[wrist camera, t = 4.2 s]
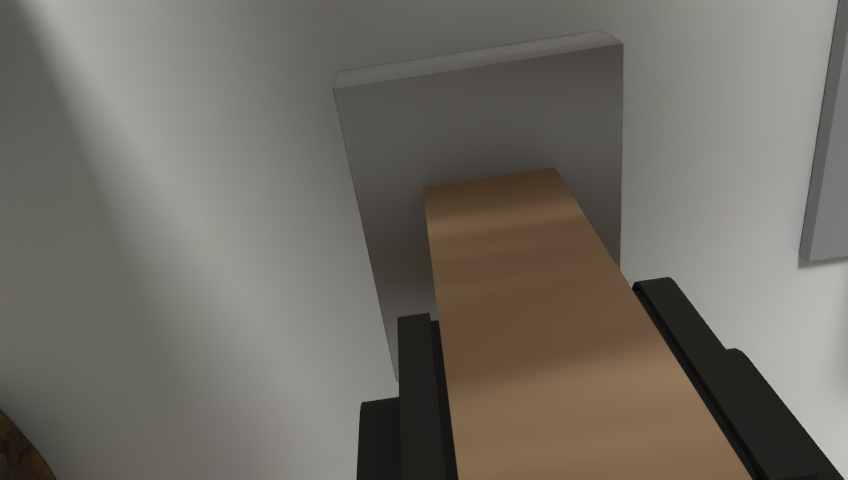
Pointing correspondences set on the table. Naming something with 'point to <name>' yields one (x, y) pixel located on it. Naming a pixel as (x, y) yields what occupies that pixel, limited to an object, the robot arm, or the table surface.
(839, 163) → the mat
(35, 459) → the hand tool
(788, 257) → the table surface
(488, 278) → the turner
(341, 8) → the table surface
